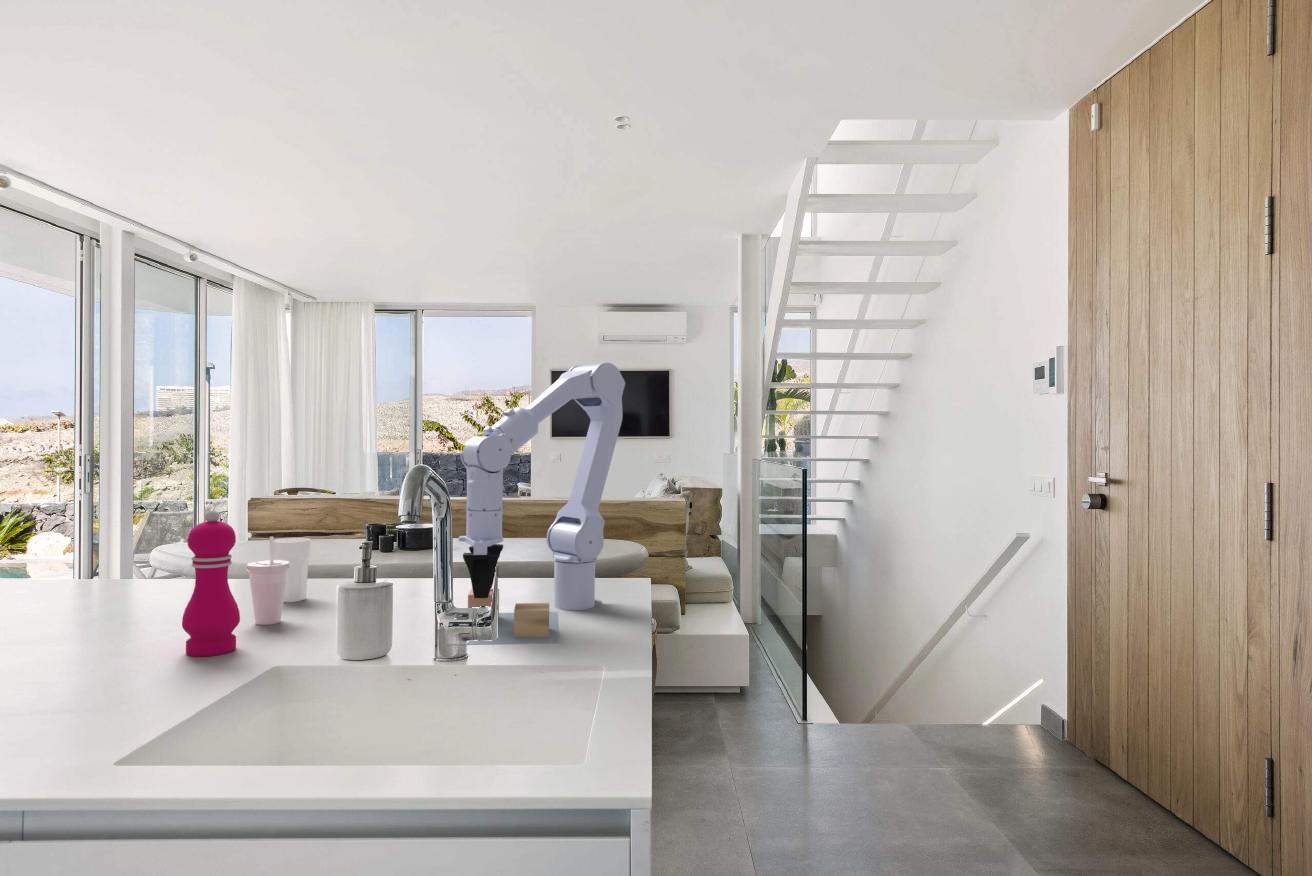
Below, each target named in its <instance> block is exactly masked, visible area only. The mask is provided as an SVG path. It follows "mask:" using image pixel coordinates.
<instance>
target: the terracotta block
mask: <svg viewBox="0 0 1312 876" xmlns="http://www.w3.org/2000/svg"><path fill="white" fill-rule="evenodd" d="M493 589H494V588H491V589H490V592H489V596H488V598H475V597H474V594H473V589H472V588H471V589H470V590H469V592H468V595H467V609H468V608H472V607H480V606H489V607H490V606H491V602H492V595H493ZM497 589H498V605H497V610H498V618H499V613H500V589H499V588H497Z"/></svg>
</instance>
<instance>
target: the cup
mask: <svg viewBox="0 0 1312 876" xmlns="http://www.w3.org/2000/svg"><path fill="white" fill-rule="evenodd" d="M310 553H311V538H308V537H307V538H306V537H284V538H276V539H274V543H273V560H284V561H288V562H290V568H289V569H288V571H287V578H286V585H285V592H284V600H283V603H295V602H296V603H297V602H301V601H304V600H306V599H307V588H308V570H309V558H310V555H311V554H310Z"/></svg>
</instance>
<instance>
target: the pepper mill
mask: <svg viewBox="0 0 1312 876" xmlns="http://www.w3.org/2000/svg"><path fill="white" fill-rule="evenodd" d="M219 518H220V514H219V512H218V511H217V510H213V509H212V510H210V509H209V510H208V511H207V512H206V513H205V514H204V519H205V521H203V522H200V523H198V524H196V525H195V526H194V527H193V528H192V529H190V531H189V534H188V537H187V547H188V548H189V550H190V551H191V552H192V553H193V556H192V557H191V561H192V563H191V564H190V565H191V568H194V571H195V572H194V574H195V581H194V589H193V591H192V593H191V597H190V599H189V601H188V602H187V604H186V606H185V608H184V612H183V615H182V619H181V626H182V629H183V631H184V632H186V634H188V635H189V638H188V639H186V641H185V654H186V655H188V656H191V657H202V658H203V657H212V656H213V657H214V656H220V655H224V654H228V653H230V652H233V651H234V650H235V649H236V648H237V636H236V634H234V633H233V631H234V630H235V629H236V628H237V627H238V625H239V624H240V621H241V614H240V609H239V605H238V603H237V600H235V597H234V595H233V593H232V591H231V589H230V584H229V580H228V579H229V578H228V576H229V574H228V571H229V566H231V565H232V563H233V562H232V560H231V559H232V557H233V555H232V554H231V553H230V552H231V551H232V549H233V548H234V546H235V545H236V542H237V541H236V540H237V538H236V537H237V535H236V533H235V532H236V531H235V530H234V528H233V527H232V526H231V525H230V524H229V523H226V522H223V521H219Z"/></svg>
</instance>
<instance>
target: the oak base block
mask: <svg viewBox="0 0 1312 876" xmlns="http://www.w3.org/2000/svg"><path fill="white" fill-rule="evenodd" d="M549 612H550V602H532V603H531V602H530V603H529V602H527V603H526V602H525V603H517V602H516V603H515V604H514V610H513V613H514V638H519V637H549Z"/></svg>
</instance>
